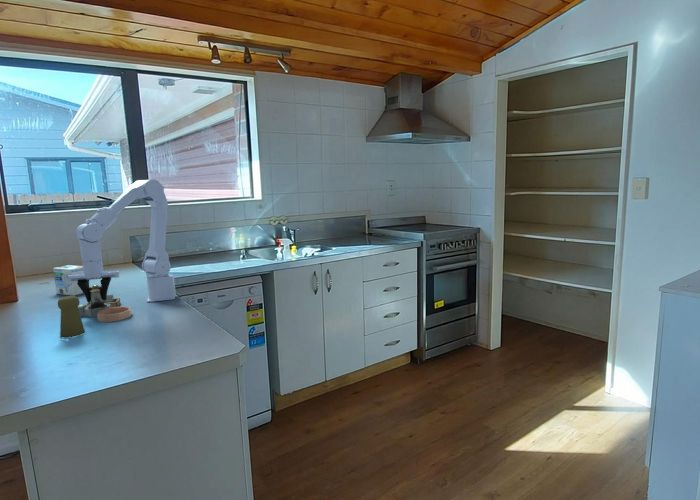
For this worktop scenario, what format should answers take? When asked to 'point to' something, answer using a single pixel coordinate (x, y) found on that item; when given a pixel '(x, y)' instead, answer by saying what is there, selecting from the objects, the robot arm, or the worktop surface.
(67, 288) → the light bulb box
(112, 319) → the cup
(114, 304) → the trough
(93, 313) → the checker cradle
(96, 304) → the cell
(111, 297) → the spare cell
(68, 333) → the cork
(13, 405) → the worktop surface
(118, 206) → the robot arm
